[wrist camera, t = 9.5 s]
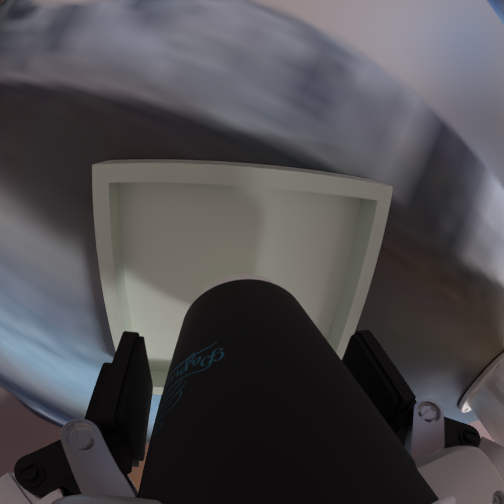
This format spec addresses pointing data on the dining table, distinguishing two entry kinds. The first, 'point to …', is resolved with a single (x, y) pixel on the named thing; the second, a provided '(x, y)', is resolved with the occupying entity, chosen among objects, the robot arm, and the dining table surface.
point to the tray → (231, 242)
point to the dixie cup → (269, 412)
